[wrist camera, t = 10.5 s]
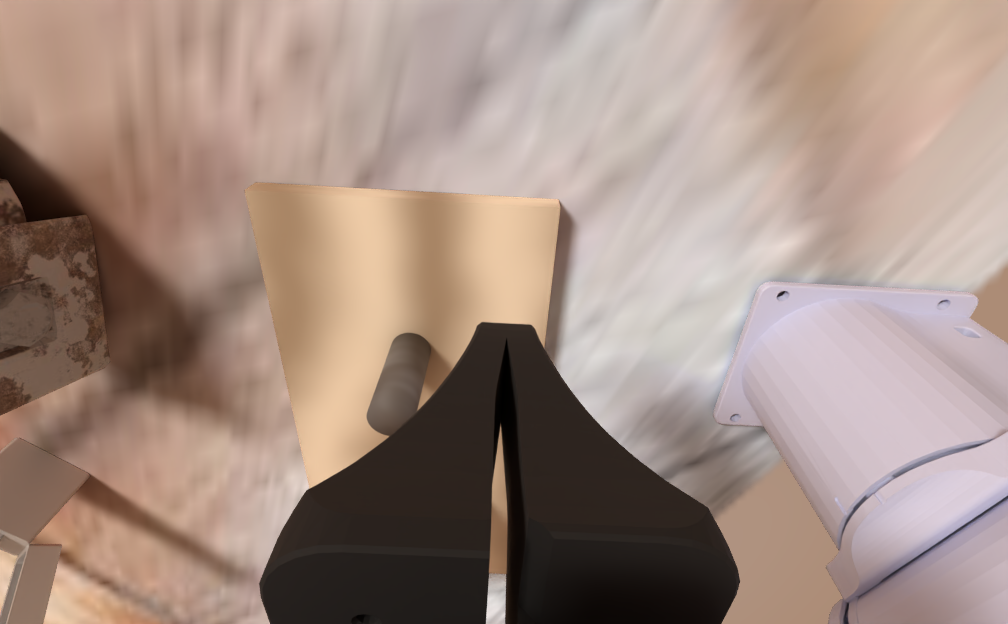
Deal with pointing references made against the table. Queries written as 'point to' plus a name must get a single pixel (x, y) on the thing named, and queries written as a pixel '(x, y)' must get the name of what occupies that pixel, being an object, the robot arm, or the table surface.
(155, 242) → the table surface
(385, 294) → the board
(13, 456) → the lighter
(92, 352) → the caster wheel
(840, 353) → the robot arm
